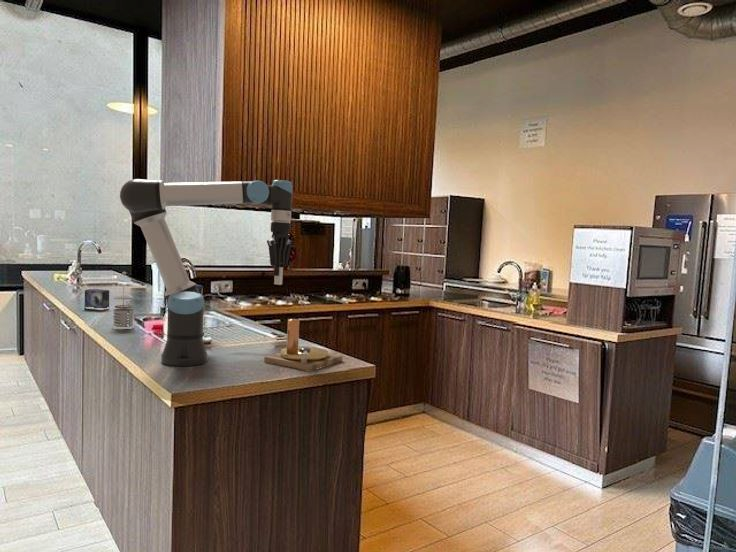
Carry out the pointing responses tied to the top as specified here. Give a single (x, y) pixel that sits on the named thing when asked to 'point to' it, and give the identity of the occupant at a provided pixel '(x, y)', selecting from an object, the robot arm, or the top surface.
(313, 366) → the levelling stand
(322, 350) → the disc
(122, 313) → the french press
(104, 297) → the small box
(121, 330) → the top surface
